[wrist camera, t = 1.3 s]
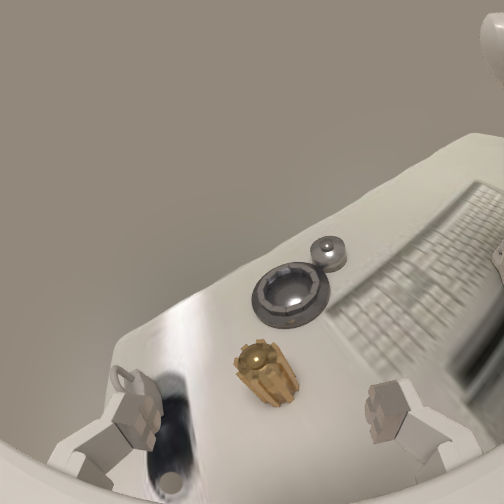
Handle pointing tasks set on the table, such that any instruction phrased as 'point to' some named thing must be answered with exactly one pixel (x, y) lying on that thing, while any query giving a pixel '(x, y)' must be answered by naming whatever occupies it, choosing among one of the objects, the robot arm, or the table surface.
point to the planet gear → (267, 373)
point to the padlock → (136, 385)
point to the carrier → (291, 295)
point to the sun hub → (328, 253)
